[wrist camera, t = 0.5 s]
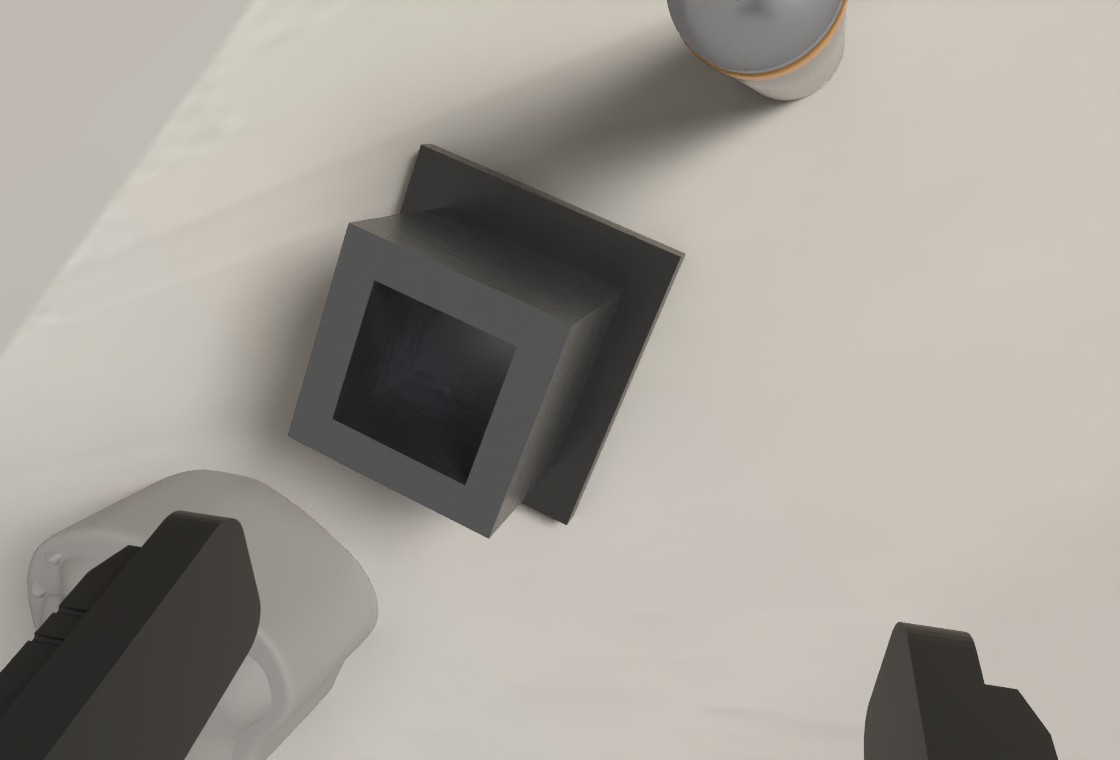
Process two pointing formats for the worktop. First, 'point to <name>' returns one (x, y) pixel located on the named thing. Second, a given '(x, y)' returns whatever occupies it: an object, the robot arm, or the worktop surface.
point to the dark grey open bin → (480, 344)
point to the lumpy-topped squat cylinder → (283, 586)
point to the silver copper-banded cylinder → (766, 41)
